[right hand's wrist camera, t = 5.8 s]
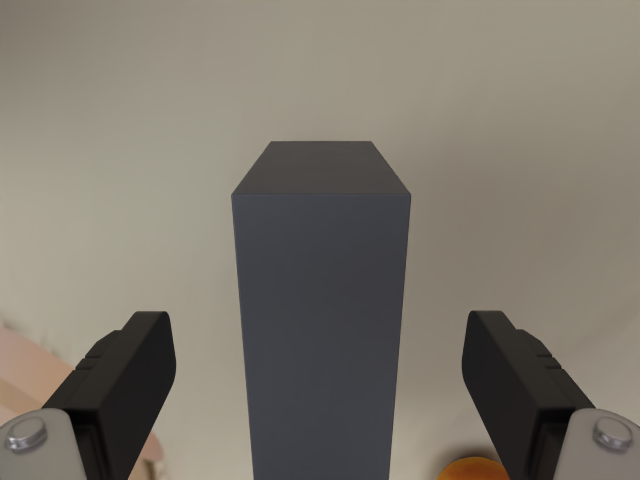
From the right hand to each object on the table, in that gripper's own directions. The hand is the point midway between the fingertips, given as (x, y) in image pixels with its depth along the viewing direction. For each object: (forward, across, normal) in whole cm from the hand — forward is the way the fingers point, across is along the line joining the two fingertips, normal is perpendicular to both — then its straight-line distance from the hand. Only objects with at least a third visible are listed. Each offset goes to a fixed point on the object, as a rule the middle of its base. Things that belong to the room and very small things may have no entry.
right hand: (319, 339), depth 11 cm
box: (+16, 0, -10) cm, 19 cm away
